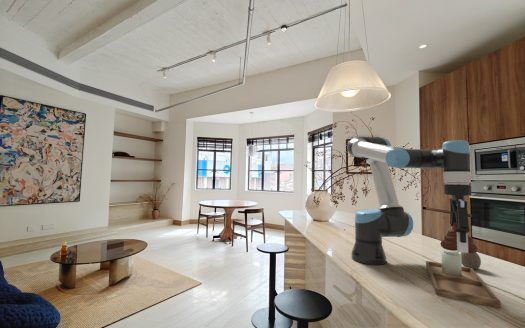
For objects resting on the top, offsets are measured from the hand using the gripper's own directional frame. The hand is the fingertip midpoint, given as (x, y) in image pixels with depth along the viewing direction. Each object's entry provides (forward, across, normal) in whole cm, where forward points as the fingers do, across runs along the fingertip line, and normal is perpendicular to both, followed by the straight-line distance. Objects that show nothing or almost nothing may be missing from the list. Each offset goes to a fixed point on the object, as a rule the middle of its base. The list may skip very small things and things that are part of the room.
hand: (459, 248), depth 83 cm
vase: (+15, +31, -9) cm, 35 cm away
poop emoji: (+1, 0, 0) cm, 1 cm away
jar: (+14, +16, 0) cm, 21 cm away
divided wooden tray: (+14, +8, 0) cm, 16 cm away
